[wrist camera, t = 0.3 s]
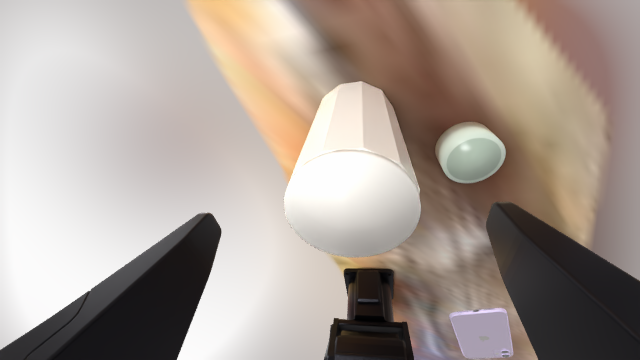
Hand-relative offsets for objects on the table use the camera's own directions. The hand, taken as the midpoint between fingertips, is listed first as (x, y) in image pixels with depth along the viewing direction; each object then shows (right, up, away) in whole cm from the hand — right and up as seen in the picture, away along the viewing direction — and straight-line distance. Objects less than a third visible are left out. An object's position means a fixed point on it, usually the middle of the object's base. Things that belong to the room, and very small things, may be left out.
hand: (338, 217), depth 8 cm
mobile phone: (+25, -23, +31) cm, 46 cm away
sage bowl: (+12, +4, +14) cm, 19 cm away
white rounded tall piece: (+2, +6, +14) cm, 15 cm away
